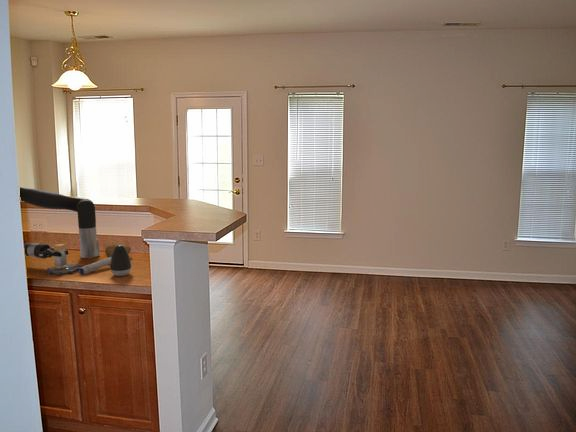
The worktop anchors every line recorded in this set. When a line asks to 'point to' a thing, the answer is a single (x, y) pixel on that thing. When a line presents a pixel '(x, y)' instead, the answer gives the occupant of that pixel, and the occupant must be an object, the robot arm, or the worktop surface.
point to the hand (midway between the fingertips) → (64, 253)
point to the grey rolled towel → (94, 266)
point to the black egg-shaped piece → (120, 261)
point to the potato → (112, 246)
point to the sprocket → (63, 269)
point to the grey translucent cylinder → (61, 248)
